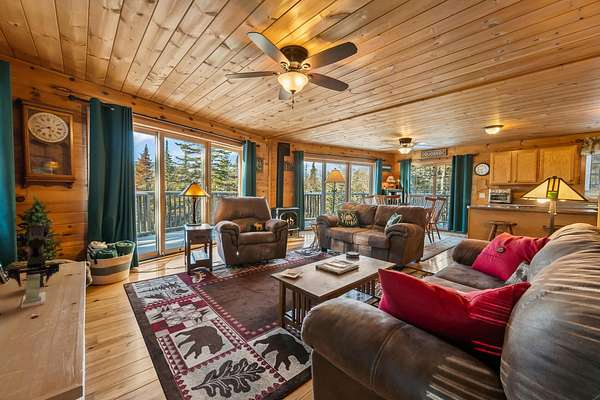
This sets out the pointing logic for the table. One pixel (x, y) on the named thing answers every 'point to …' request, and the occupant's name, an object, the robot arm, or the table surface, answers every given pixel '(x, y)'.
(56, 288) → the table surface
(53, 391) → the table surface
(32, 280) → the post
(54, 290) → the table surface
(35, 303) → the baseplate
